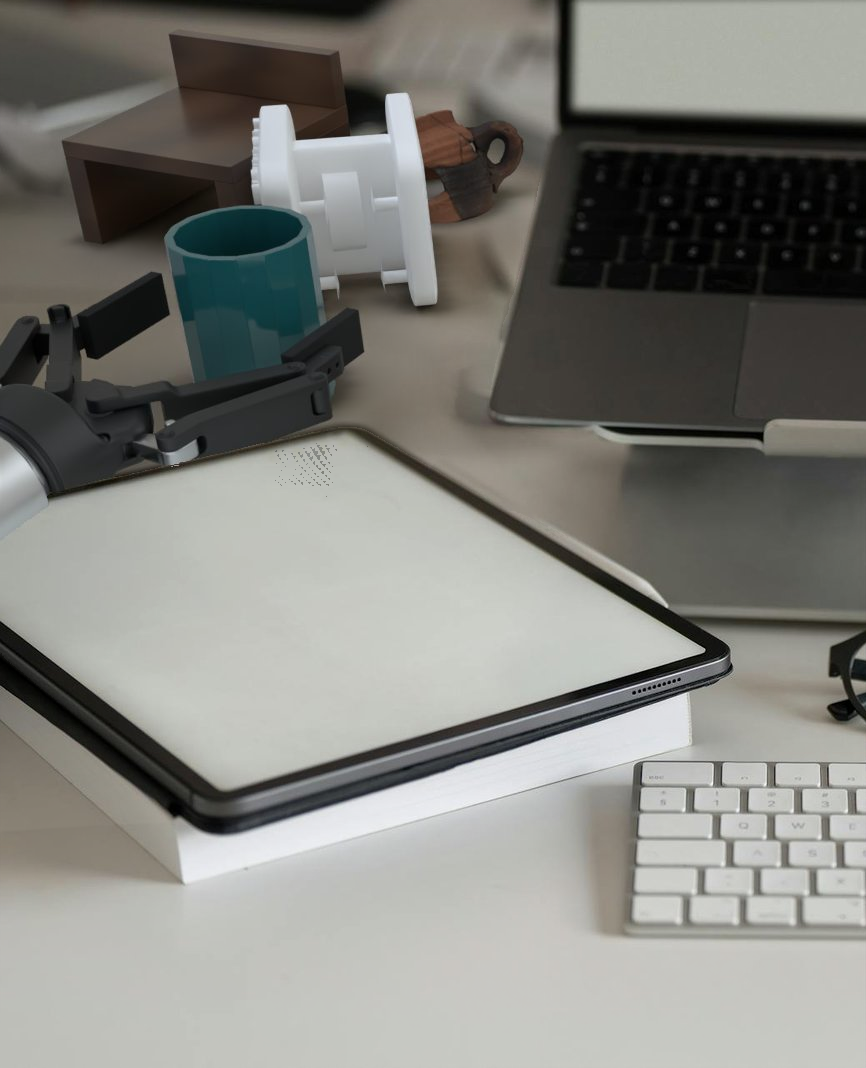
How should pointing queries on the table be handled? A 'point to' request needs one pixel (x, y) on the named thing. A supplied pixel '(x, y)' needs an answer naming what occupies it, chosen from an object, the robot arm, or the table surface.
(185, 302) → the teal cup
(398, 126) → the cable organizer
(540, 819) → the table surface
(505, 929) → the table surface
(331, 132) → the desk shelf
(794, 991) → the table surface
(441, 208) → the pottery mug
